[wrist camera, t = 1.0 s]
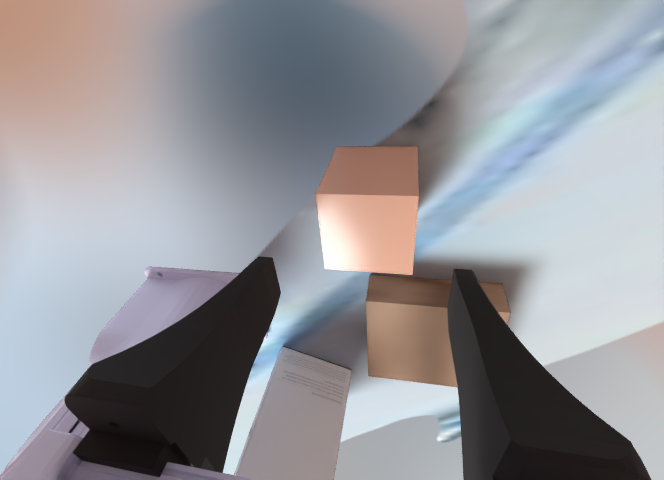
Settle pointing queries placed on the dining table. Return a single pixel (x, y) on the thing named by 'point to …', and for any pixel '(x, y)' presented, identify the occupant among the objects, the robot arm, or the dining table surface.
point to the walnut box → (415, 328)
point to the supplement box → (297, 421)
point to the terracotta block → (369, 209)
